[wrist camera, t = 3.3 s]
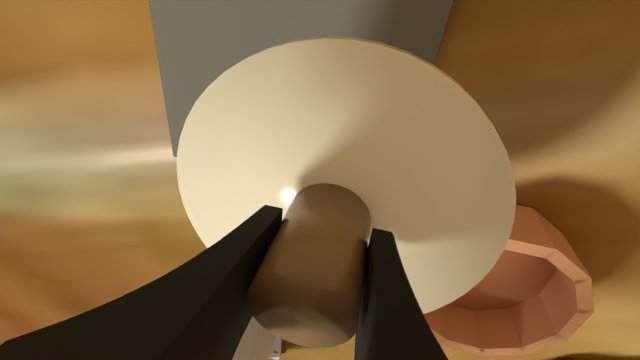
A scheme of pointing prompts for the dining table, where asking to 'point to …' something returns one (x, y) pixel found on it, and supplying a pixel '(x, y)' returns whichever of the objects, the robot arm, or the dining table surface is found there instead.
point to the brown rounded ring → (520, 295)
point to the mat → (274, 36)
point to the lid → (346, 178)
